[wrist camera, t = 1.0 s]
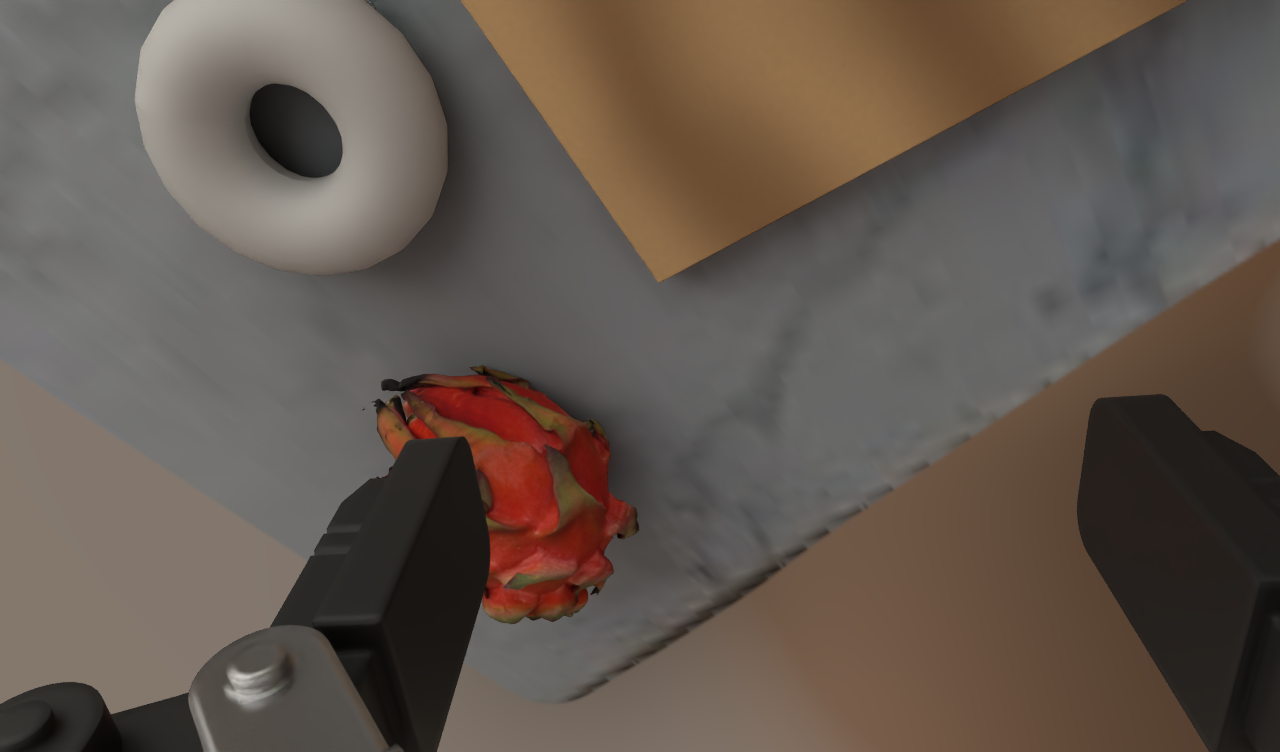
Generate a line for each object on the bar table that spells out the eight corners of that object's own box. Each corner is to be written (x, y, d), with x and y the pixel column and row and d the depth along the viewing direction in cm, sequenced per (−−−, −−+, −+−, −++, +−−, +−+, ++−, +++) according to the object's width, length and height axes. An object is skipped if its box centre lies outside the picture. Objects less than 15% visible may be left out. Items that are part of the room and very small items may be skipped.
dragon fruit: (614, 517, 42) (444, 313, 39) (726, 520, 35) (531, 270, 32) (485, 663, 38) (285, 448, 35) (583, 700, 31) (343, 434, 28)
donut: (481, 246, 34) (432, -51, 28) (457, 294, 31) (397, -26, 25) (221, 247, 35) (123, -39, 29) (175, 293, 32) (57, -14, 26)
